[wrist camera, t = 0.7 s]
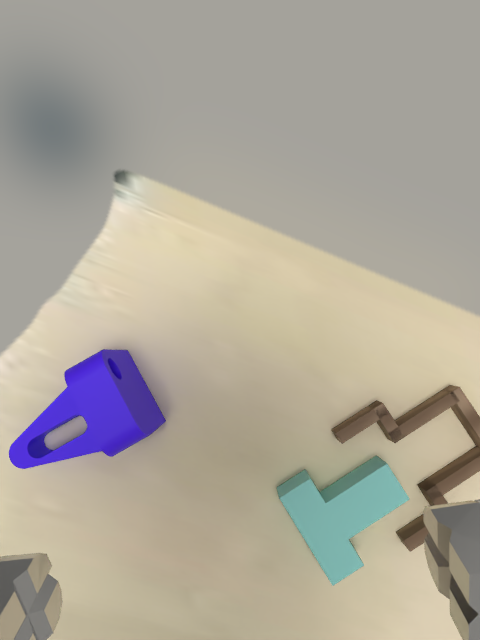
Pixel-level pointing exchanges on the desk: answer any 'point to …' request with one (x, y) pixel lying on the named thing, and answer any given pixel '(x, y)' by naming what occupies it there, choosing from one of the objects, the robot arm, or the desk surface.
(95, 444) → the bracket
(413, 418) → the frame
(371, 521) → the t block
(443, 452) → the desk surface
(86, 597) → the desk surface
